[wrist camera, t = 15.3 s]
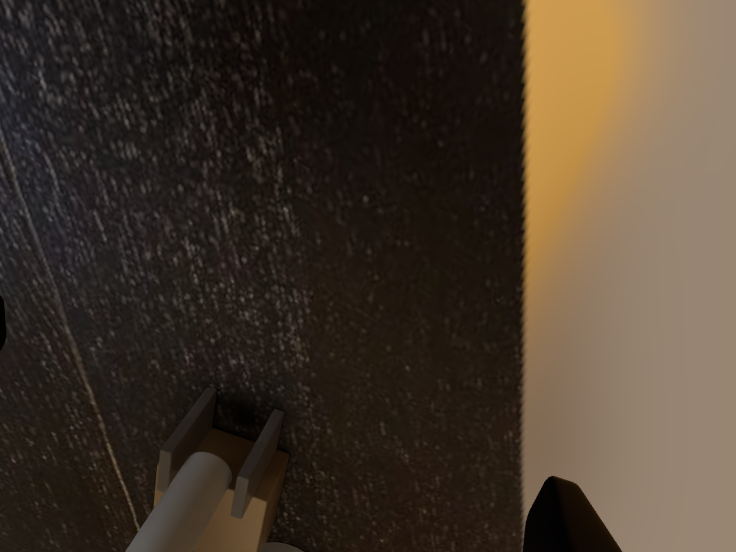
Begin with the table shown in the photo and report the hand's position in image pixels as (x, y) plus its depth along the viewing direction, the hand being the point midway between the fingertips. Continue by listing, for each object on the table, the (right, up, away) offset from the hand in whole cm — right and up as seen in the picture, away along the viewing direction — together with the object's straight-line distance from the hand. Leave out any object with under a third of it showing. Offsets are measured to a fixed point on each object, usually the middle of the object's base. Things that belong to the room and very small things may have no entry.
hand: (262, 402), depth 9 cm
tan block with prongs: (-5, -7, +19) cm, 21 cm away
